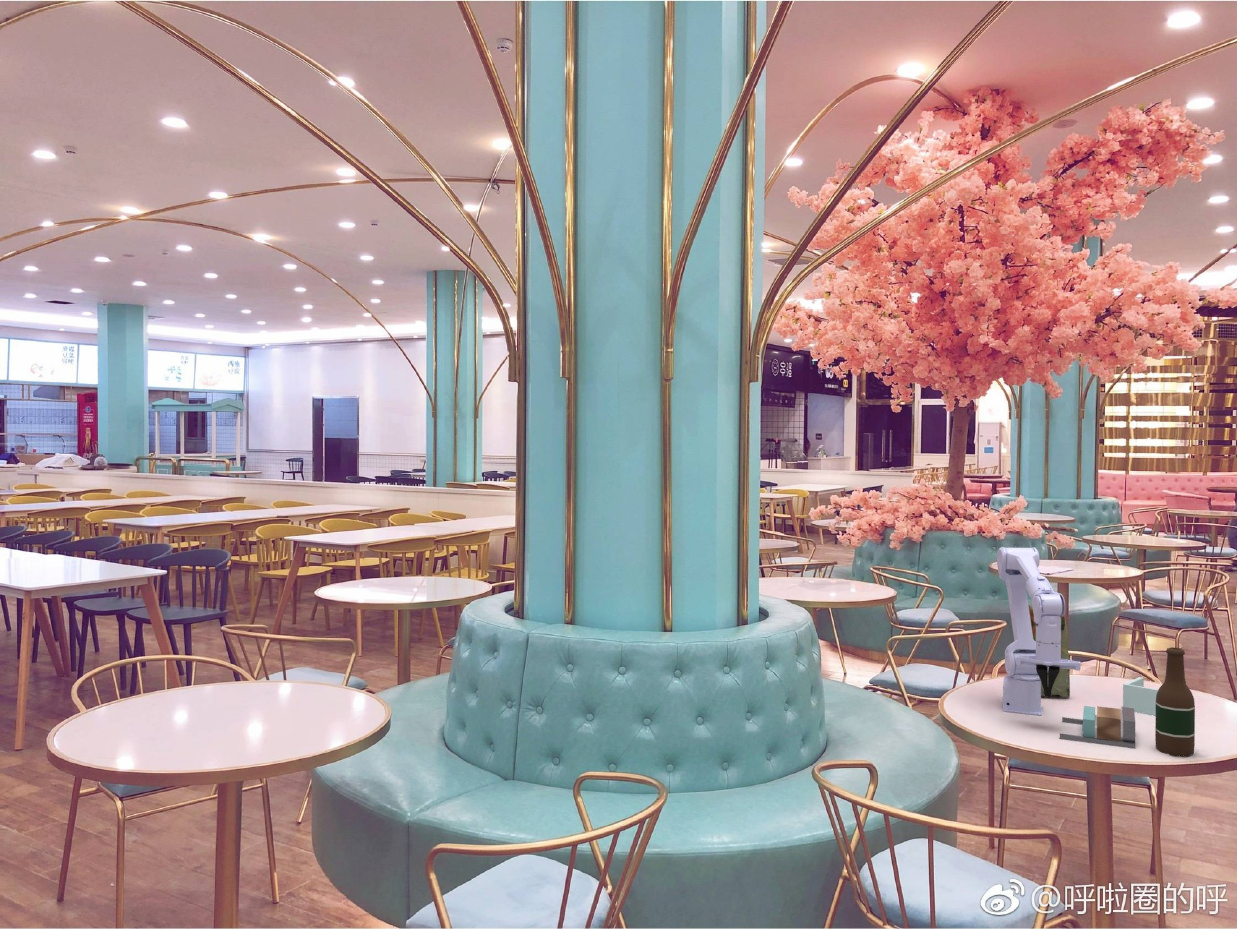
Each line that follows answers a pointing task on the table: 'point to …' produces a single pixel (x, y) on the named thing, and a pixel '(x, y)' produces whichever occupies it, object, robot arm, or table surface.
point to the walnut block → (1108, 723)
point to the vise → (1126, 739)
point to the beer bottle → (1175, 709)
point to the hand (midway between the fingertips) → (1047, 695)
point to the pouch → (1063, 679)
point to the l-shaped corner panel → (1139, 697)
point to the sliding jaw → (1089, 722)
